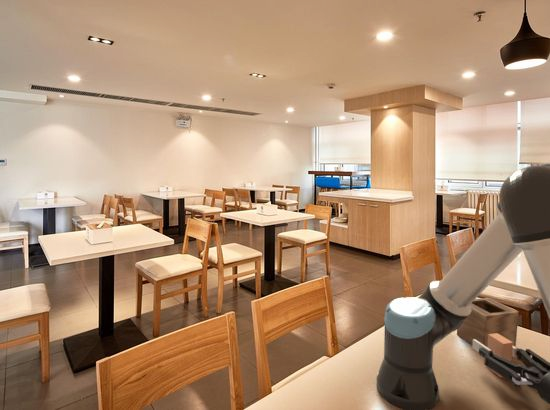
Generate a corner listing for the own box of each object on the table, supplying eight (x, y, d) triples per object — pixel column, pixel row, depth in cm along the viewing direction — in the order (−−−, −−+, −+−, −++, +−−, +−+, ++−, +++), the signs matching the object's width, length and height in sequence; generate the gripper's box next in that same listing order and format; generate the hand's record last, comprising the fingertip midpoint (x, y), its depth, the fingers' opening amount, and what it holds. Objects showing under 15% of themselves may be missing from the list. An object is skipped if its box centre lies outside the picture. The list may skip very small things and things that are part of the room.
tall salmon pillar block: (500, 377, 90) (503, 343, 89) (485, 366, 95) (488, 334, 94) (510, 376, 91) (512, 342, 89) (494, 365, 95) (497, 333, 94)
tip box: (482, 352, 102) (485, 316, 100) (456, 334, 112) (458, 301, 111) (515, 347, 104) (518, 311, 102) (487, 330, 115) (489, 297, 113)
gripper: (528, 418, 73) (454, 358, 96) (599, 404, 77) (512, 349, 99) (531, 387, 72) (455, 334, 94) (603, 374, 76) (514, 326, 98)
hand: (484, 342), depth 97 cm, fingers open, 7 cm apart
